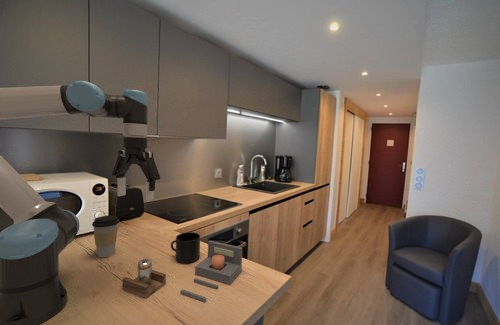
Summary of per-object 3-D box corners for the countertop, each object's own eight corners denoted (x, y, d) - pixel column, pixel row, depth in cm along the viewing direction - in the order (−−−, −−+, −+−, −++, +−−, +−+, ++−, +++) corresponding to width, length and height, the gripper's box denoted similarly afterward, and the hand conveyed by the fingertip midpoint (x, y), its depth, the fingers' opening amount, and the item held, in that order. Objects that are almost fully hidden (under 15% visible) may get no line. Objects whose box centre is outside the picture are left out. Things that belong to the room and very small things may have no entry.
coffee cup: (88, 260, 89) (87, 222, 88) (97, 250, 98) (97, 215, 97) (115, 258, 91) (115, 221, 90) (122, 248, 100) (122, 214, 99)
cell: (144, 288, 72) (144, 264, 71) (134, 285, 73) (134, 261, 73) (154, 281, 75) (154, 258, 75) (145, 278, 77) (145, 256, 76)
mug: (175, 251, 99) (176, 230, 99) (202, 254, 98) (203, 233, 97) (165, 262, 90) (165, 239, 89) (194, 265, 89) (195, 242, 88)
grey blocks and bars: (212, 304, 67) (212, 275, 66) (173, 291, 72) (174, 263, 72) (241, 271, 85) (242, 247, 85) (209, 262, 91) (209, 240, 90)
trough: (146, 298, 69) (146, 287, 68) (122, 289, 73) (122, 278, 72) (165, 284, 76) (165, 274, 76) (143, 276, 80) (143, 266, 80)
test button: (220, 272, 80) (220, 261, 80) (209, 269, 82) (209, 258, 82) (226, 266, 84) (226, 256, 84) (215, 264, 86) (216, 253, 86)
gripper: (171, 138, 78) (170, 200, 79) (119, 136, 88) (120, 192, 89) (154, 137, 71) (154, 205, 73) (100, 135, 81) (100, 195, 82)
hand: (135, 198), depth 81 cm, fingers open, 13 cm apart
